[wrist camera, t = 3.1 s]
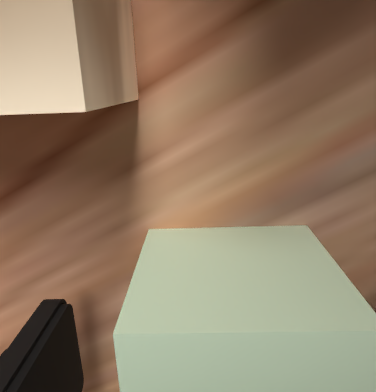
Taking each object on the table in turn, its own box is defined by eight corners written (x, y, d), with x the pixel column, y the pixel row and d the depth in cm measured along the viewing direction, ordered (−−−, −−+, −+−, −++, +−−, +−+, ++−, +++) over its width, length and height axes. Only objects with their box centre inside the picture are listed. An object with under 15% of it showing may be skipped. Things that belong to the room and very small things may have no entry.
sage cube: (149, 228, 11) (113, 334, 6) (305, 224, 11) (389, 330, 6) (158, 354, 13) (135, 516, 8) (296, 352, 12) (358, 518, 8)
